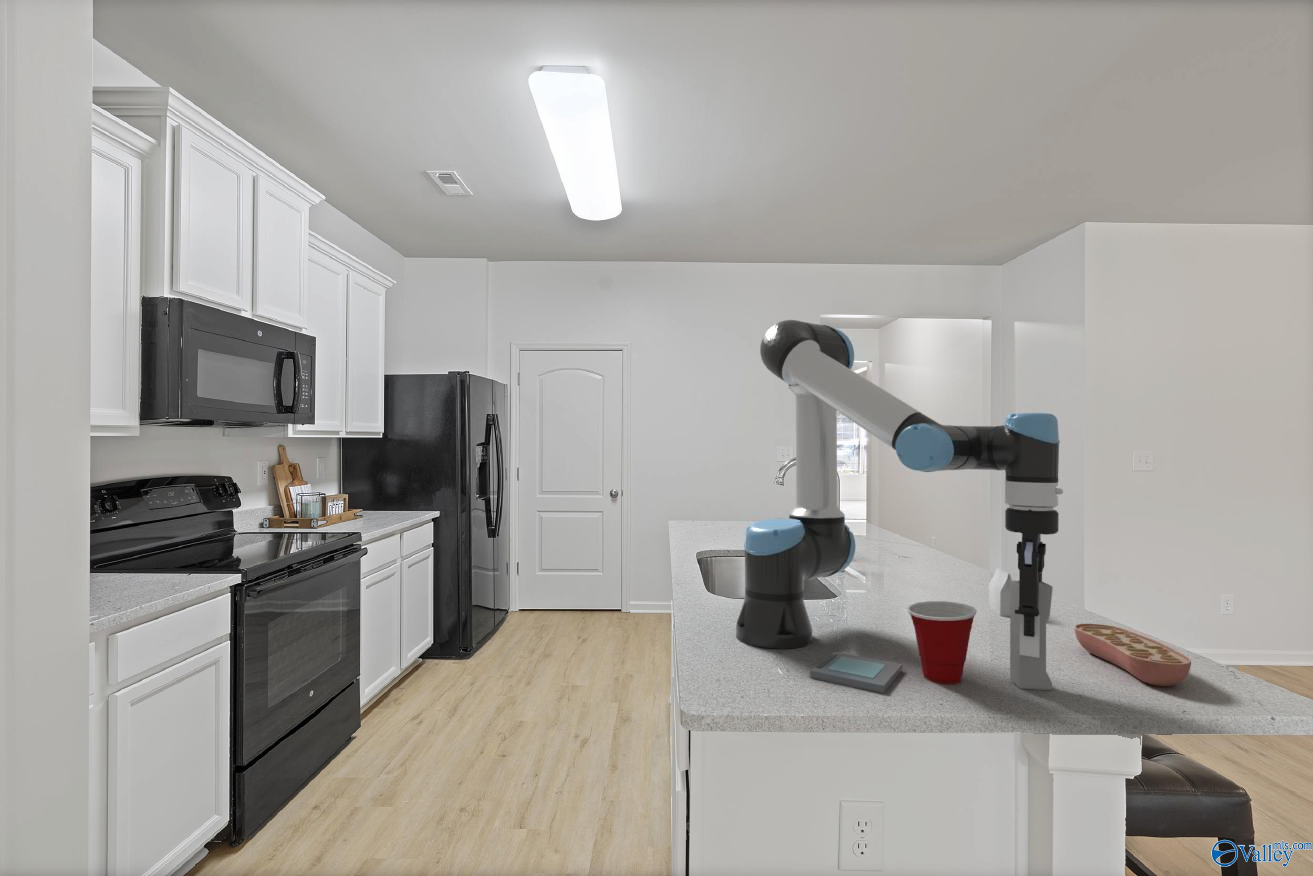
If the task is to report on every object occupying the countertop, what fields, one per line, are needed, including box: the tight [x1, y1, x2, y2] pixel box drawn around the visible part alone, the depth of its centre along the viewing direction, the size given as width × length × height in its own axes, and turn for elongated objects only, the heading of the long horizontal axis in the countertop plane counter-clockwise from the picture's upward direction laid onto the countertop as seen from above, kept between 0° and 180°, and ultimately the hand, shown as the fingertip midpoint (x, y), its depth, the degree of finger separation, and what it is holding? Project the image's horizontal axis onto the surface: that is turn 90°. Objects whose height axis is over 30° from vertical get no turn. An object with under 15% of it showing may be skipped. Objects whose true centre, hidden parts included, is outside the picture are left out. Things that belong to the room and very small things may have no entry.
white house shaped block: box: [988, 567, 1013, 617], centre depth 150 cm, size 4×7×10 cm, turn 173°
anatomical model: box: [1074, 623, 1192, 687], centre depth 114 cm, size 23×10×5 cm, turn 176°
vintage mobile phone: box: [1009, 580, 1054, 691], centre depth 106 cm, size 4×5×25 cm
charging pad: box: [809, 651, 903, 694], centre depth 111 cm, size 12×12×1 cm
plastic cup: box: [906, 600, 978, 685], centre depth 109 cm, size 11×11×12 cm
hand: (1030, 650), depth 106 cm, fingers closed on vintage mobile phone, 5 cm apart
